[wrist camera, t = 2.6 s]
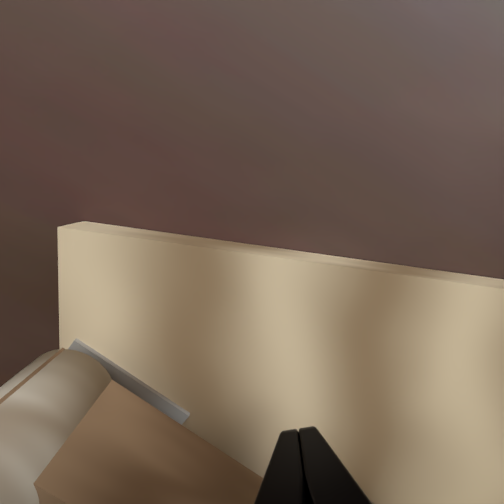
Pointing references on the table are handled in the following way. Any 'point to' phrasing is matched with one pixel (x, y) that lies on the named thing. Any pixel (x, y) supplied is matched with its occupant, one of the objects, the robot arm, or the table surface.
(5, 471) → the wooden dumbbell
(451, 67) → the table surface
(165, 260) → the striped placemat
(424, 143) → the table surface
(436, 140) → the table surface
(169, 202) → the table surface
